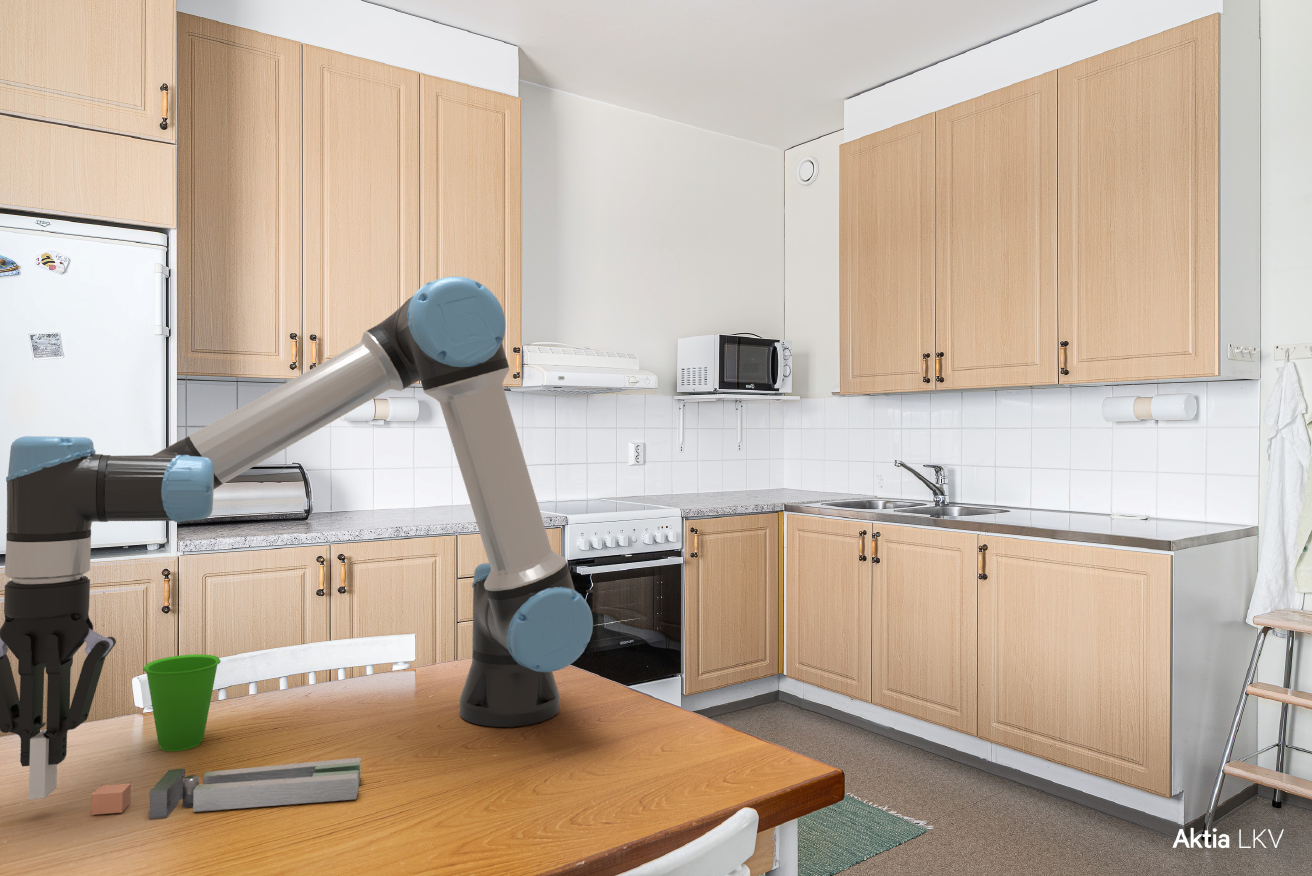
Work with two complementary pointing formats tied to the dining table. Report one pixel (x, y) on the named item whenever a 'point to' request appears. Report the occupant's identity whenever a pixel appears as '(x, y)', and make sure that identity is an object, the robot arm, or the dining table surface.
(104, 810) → the tab
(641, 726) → the dining table surface
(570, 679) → the dining table surface
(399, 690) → the dining table surface
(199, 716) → the cup
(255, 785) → the tongs base
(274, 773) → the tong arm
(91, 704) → the robot arm
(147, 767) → the dining table surface
